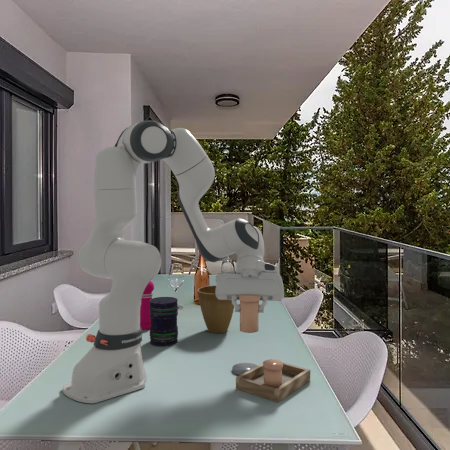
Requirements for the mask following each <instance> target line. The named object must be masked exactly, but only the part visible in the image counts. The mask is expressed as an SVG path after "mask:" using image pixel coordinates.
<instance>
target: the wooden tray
mask: <svg viewBox="0 0 450 450" xmlns="http://www.w3.org/2000/svg"><path fill="white" fill-rule="evenodd" d="M269 360H271V358H270V359H269ZM310 381H311V369H308V368H305V367H301V366H298V365H294V364H290V363H286V362H283V369H282V385H281V386H279V387H278V388H274V387H271V386H268V385H265V384H264V368H263V362H262V363H260V364H259V365H257V367H255V368H253V369H251V370H249V371H247V372H245V373H243V374H241V375H238V376H237V375H236V377H235V389H236V390H239V391H242V392H246V393H249V394H252V395H254V396H257V397H261V398H263V399H267V400H269V401H272V402H276V403H279V402H280V401H282V400H284V399H286V397H288V396H290V395H291V394H292V393H294V392H296V391H297V390H298V389H300V388H301V387H303V386H304V385H307V383H308V382H310Z"/></svg>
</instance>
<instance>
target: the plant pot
mask: <svg viewBox="0 0 450 450" xmlns="http://www.w3.org/2000/svg"><path fill="white" fill-rule="evenodd" d="M215 291H216V285H207V286H206V285H205V286H202V287H200V288H198V289H197V295H198V302H199V306H200V311H201V315H202V318H203V320H204V323H205V326H206V329H207V331H208V332H209V333H213V334H223V333H226V332H228V329H229V328H230V327H229V326H230V324H231V322H232V317H233V313H234V311H235V307H234V305H233V304H232V300H219V299H218V298H217V297H216V293H215Z"/></svg>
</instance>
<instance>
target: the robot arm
mask: <svg viewBox="0 0 450 450" xmlns="http://www.w3.org/2000/svg"><path fill="white" fill-rule="evenodd" d="M161 160H162V161H163V162H164V163H166V165H168V167H169V169H170V170H171V172H172V173H173V175H174V176H175V178H176V180H177V182H178V188H179V189H178V191H177V200H178V203H179V206H180V208H181V210H182V213H183V216H184V217H185V219H186V222H187V224H188V226H189V228H190V231H191V233H192V235H193V237H194V240H195V243H196V247H197V251H198V252H199V255H200V256H201V257H202V258H203V259H205V260H206V261H208V262H211V263H216V262H218V261H220V260H222V259H224V258H226V257H229V256H231V255H234V254H236V256H237V259H236V262H235V263H236V264H235V271H226V270H225V271H221V272H219V273H217V274H216V275H215V282H216V285H215V286H216V291H215V293H216V297H217V298H218V299H219V300H232V304H233V305H234V312H235V313H240V303H238V302H237V301H240V300H239V295H241V294H246V295H260V301H262V303H261V304H259V314H262V313H264V312H265V311H264V309H265V308H266V306H267V305H268V301H269V302H281V301H283V299H284V298H285V287H284V283H283V278H282V276H281V274H280V269H279V266H278V265H276V264H275V265H274V264H272V263H269V262H265V260H264V257H265V242H264V237H263V234H262V231H261V230H260V229H259V228H258V227H256V226H254V225H253V223H251V222H249V221H248V220H246V219H244V218H241V217H238V218H235V219H233V220H230V221H228V222H226V223H223V224H222V225H219V226H217V227H214V228H210V227H209V226H208V225H207V223H206V220H205V218H204V216H203V213H202V211H201V209H200V206H199V205H200V204H199V202H200V200H201V198H202V197H204V195H205V194H206V193H207V191H209V189H210V188H211V186H213V183H214V180H215V175H216V173H215V167H214V165H213V163H212V160H211V159H210V158H209V156H208V154H207V153H206V151H205V150H204V148H203V147H202V145H201V144H200V143H199V141H198V140H197V139H196V137H194V135H193V134H192V133H191V132H190V131H189V130H188V129H186V128H184V127H177V128H173V129H170V128H168V127H167V126H164V124H162V123H160V122H158V121H155V120H143V121H138V122H135V123H133V124H131V125H130V126H128V127H125V129H124V130H122V132H120V135H119V136H118V138H117V140H116V142H115V145H114V146H109V147H105V148H103V149H101V150H100V151H98V153H97V154H96V156H95V162H94V167H93V168H94V169H93V192H94V193H93V195H94V199H93V200H94V220H93V221H94V222H93V226H92V230H91V232H90V235H89V236H88V238H87V240H86V241H85V243H83V244H82V245H81V247H80V249H79V251H78V256H77V263H78V265H79V267H80V269H81V270H82V271H83V273H86V274H88V275H89V276H90V275H91V276H93V277H96V278H100V279H107V280H112V283H111V288H110V292H109V293H108V294H107V295H105V296H103V298H101V300H99V303H98V328H99V329H98V330H97V332H96V335H94V334H91V333H89V334H87V335H86V337H85V341H86V342H90V343H91V344H92V343H93V346H92V347H91V348H90V349H89V350H88V352H86V354H85V355H83V356H82V358H80V359H79V361H78V362H77V363H76V364H75V365H74V366H73V369H72V374H71V381H69V382H67V383H65V384H63V386H62V392H63V394H64V395H65V396H66V397H68V398H70V399H71V400H74V401H77V402H80V403H85V404H97V403H101V402H104V401H106V400H107V401H108V400H109V399H113V398H116V397H119V396H122V395H125V394H129V393H132V392H135V391H138V390H141V389H142V390H143V388H145V387H146V383H145V382H146V380H147V378H148V377H147V373H146V370H145V366H144V361H143V355H142V344H141V343H142V341H143V329H142V328H141V327H140V306H141V298H142V295H143V292H144V290H145V288H146V286H147V284H148V283H149V282H150V281H151V282H152V280H154V279H155V278H156V277H157V276H158V274H159V273H160V270H161V266H162V256H161V254H160V251H159V250H158V247H156V246H155V245H152V244H150V243H147V242H143V241H140V240H129V239H125V233H126V230H127V227H128V226H129V225H130V224H132V223H134V221H135V220H136V218H137V216H138V200H137V199H138V198H137V183H136V182H137V181H136V176H137V170H138V168H139V166H140V165H141V164H149V163H153V162H158V161H161ZM260 301H259V302H260Z"/></svg>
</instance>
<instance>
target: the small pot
mask: <svg viewBox="0 0 450 450" xmlns="http://www.w3.org/2000/svg"><path fill="white" fill-rule="evenodd" d="M270 359H271V358H270ZM270 359H266V360H264V361H262V363H263V368H264V384H265V385H268V386H271V387H274V388H278V387H279V386H281V385H282V369H283V363H284V362H283V361H282V360H279V359H273V358H272V359H271V360H270Z"/></svg>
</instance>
